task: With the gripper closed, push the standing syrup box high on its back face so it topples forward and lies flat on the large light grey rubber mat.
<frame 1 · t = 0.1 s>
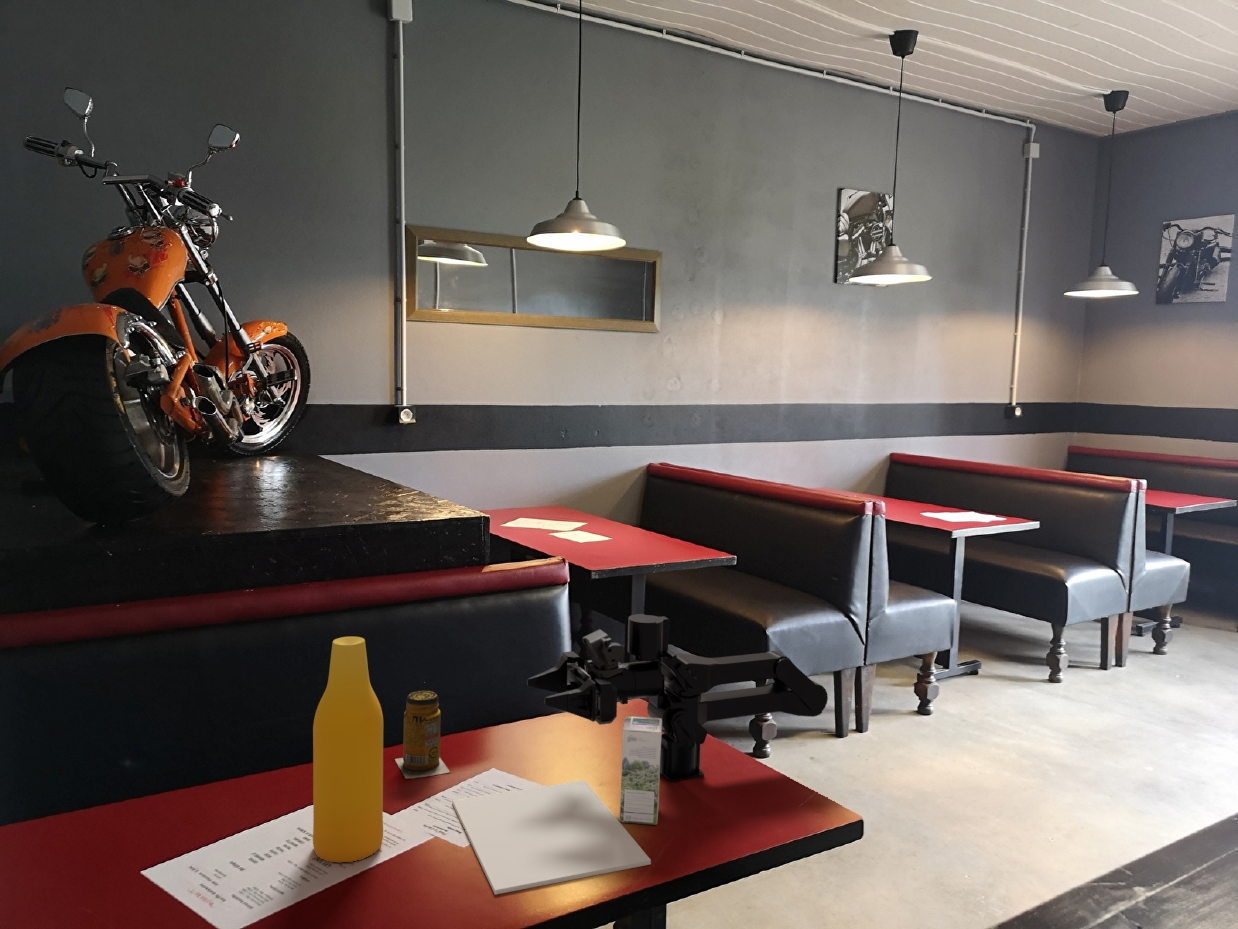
hand: (535, 691, 138), 17 cm above the table, tool horizontal, fingers open, 9 cm apart
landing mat: (545, 832, 128), on the table
condiment: (421, 768, 149), on the table
beer bottle: (348, 848, 122), on the table
syrup box: (639, 817, 133), on the table
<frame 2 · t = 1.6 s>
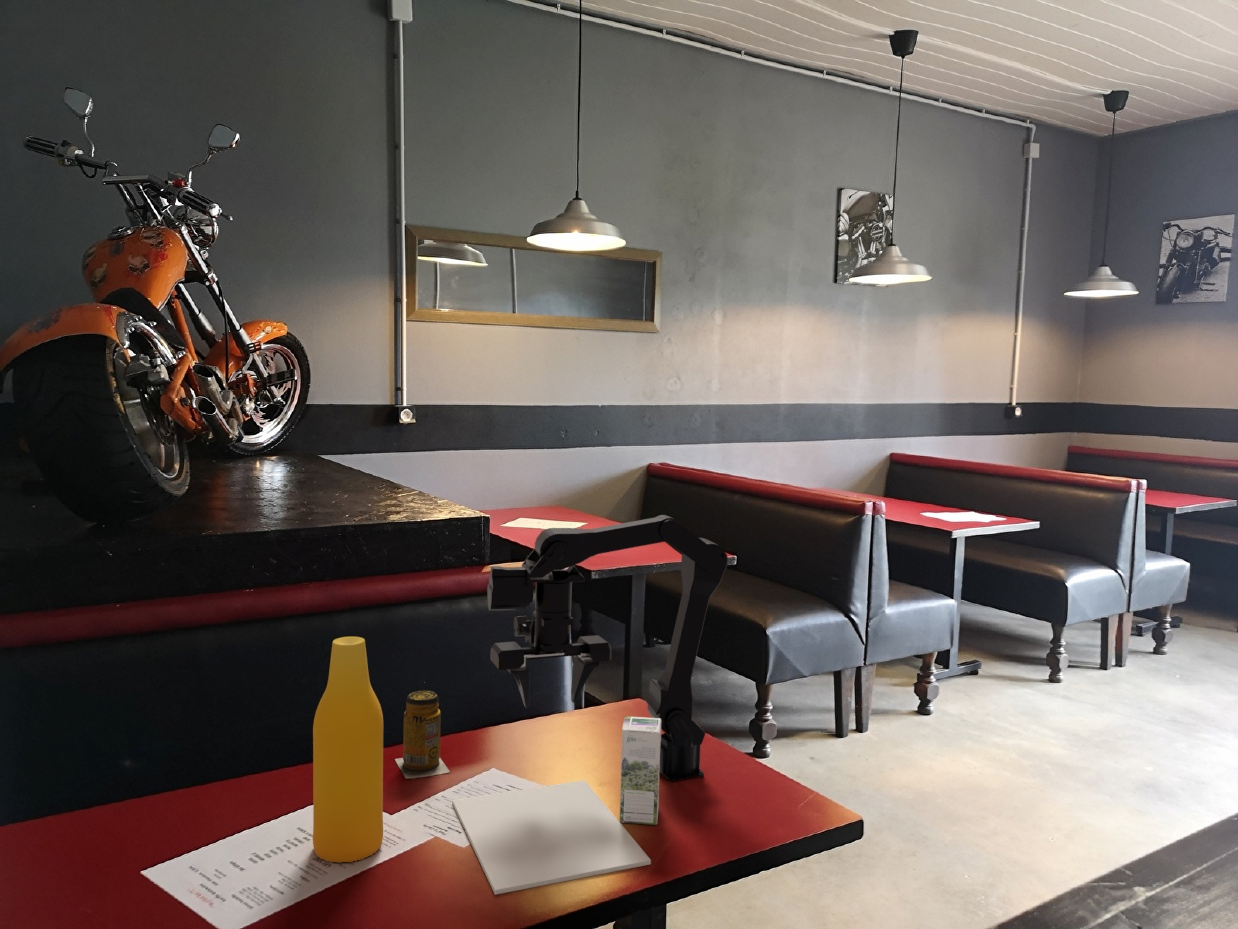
hand: (549, 704, 142), 13 cm above the table, tool pointing down, fingers open, 8 cm apart
nothing on the table moved.
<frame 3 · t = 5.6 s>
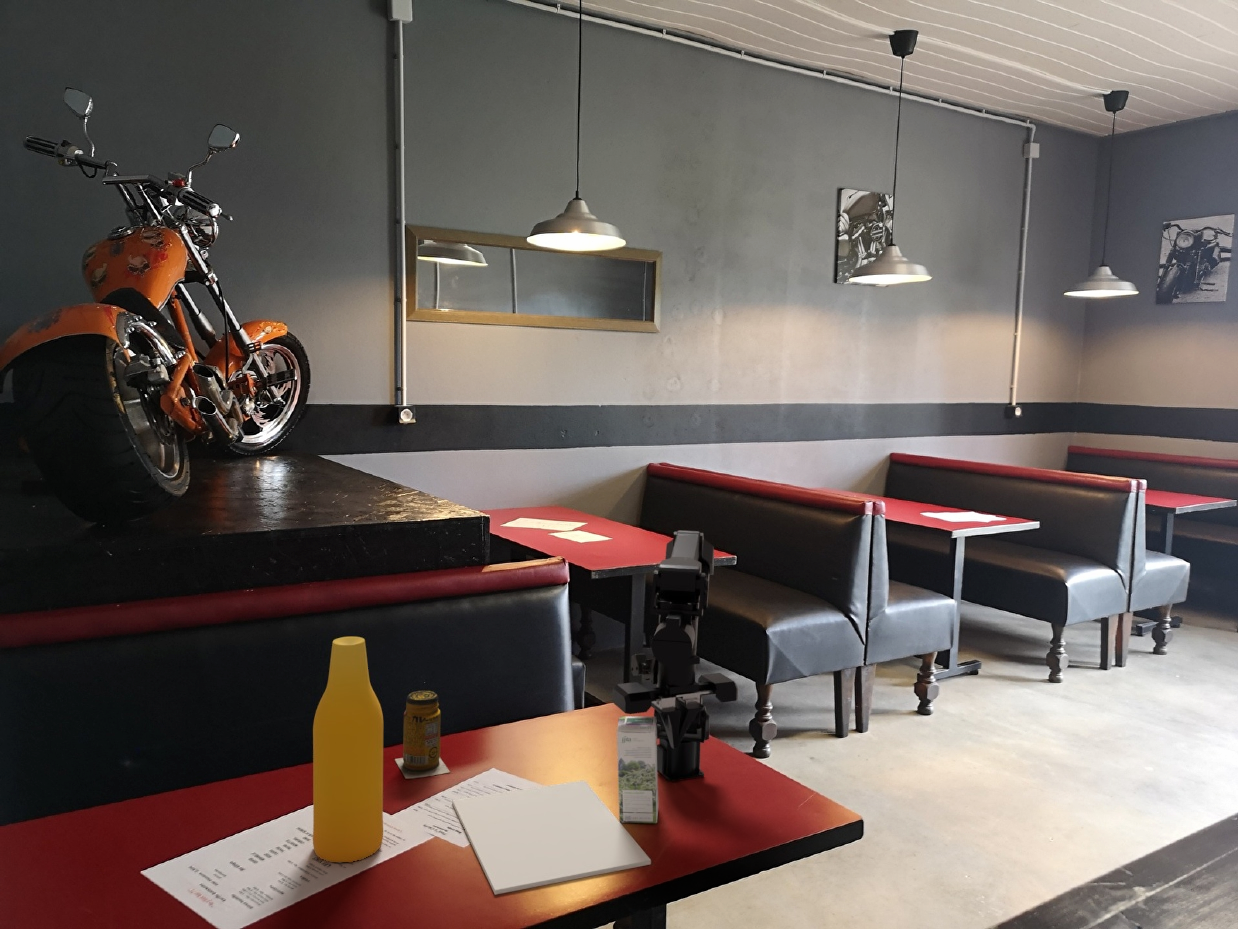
hand: (673, 747, 134), 10 cm above the table, tool pointing down, fingers closed
syrup box: (639, 816, 133), on the table, touching gripper
everything else where it was.
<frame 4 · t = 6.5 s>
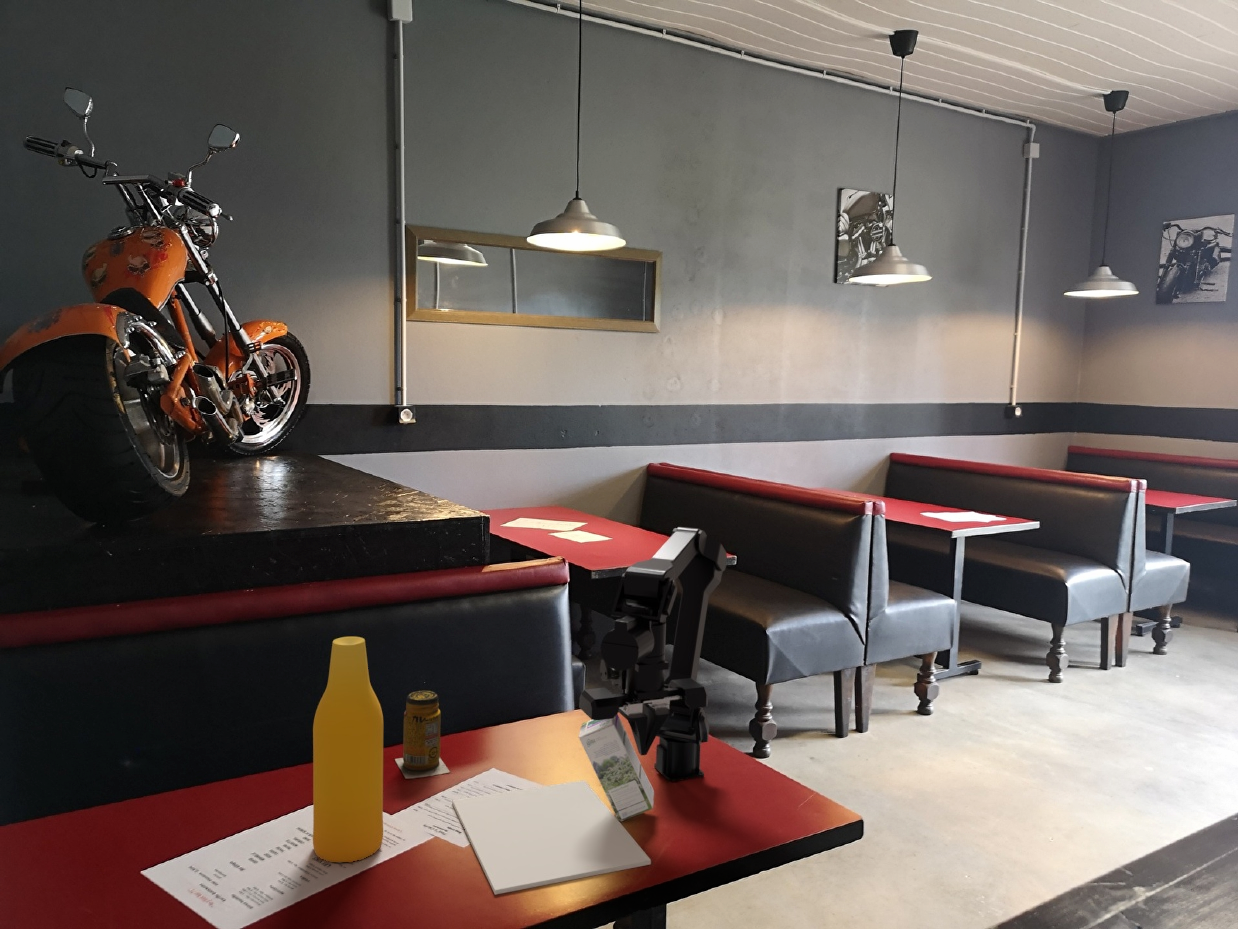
hand: (642, 754, 132), 10 cm above the table, tool pointing down, fingers closed
syrup box: (637, 808, 133), point 1 cm above the table
everything else where it was.
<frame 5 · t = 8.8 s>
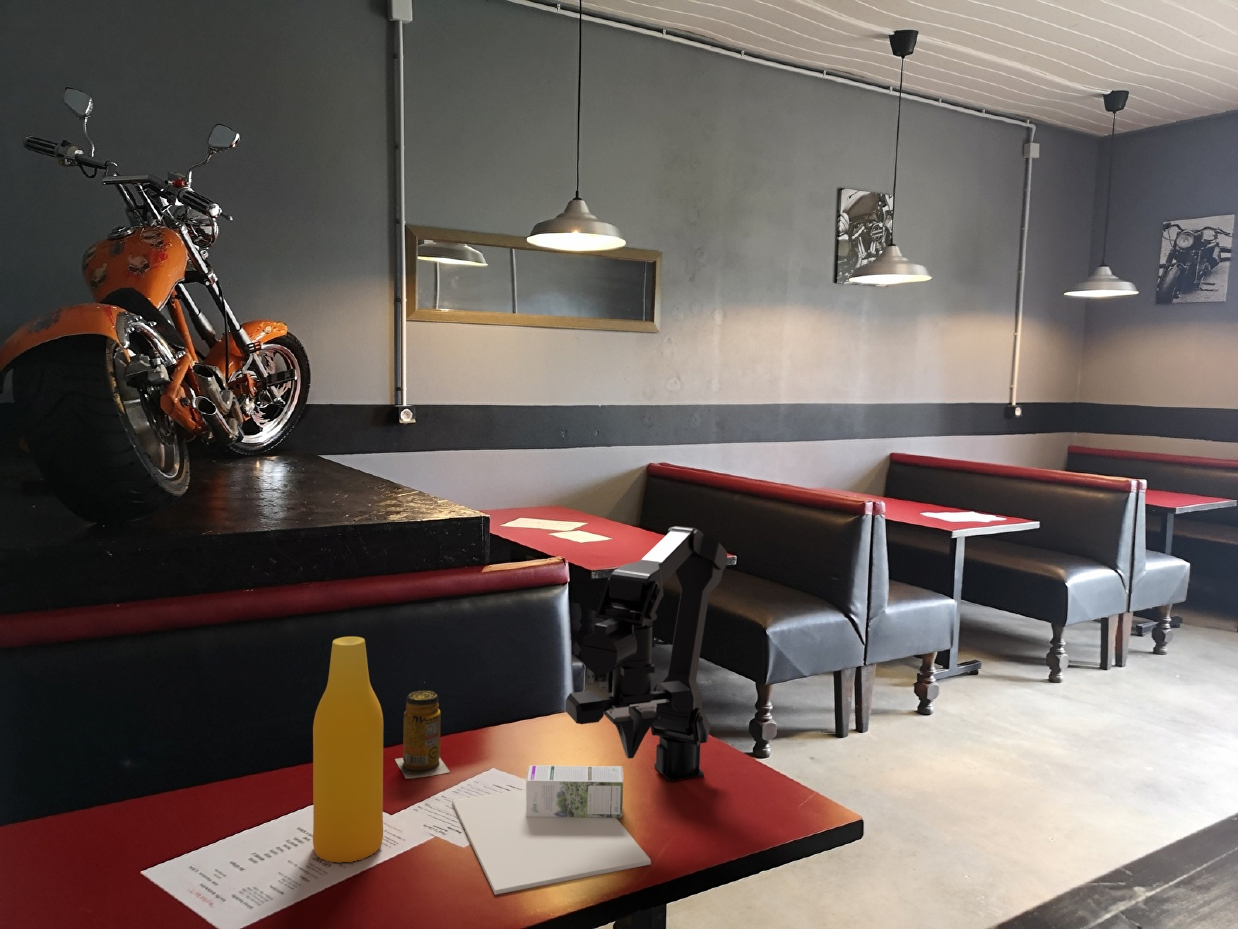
hand: (629, 757, 132), 9 cm above the table, tool pointing down, fingers closed
syrup box: (624, 791, 133), point 3 cm above the table, touching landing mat
everything else where it was.
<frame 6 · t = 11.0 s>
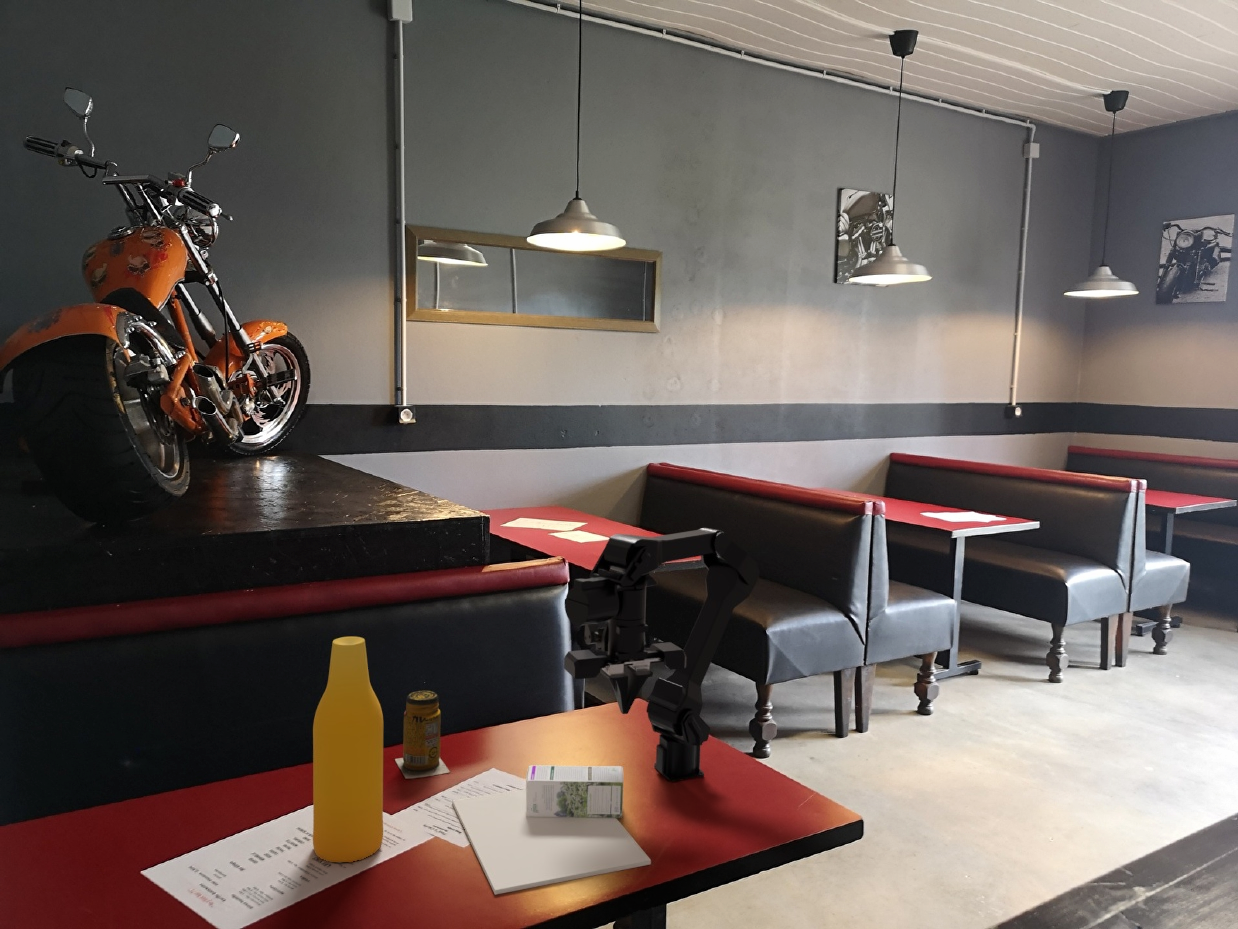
hand: (624, 713, 140), 13 cm above the table, tool pointing down, fingers closed
nothing on the table moved.
at the end: syrup box tilted 90°; syrup box touching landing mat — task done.
